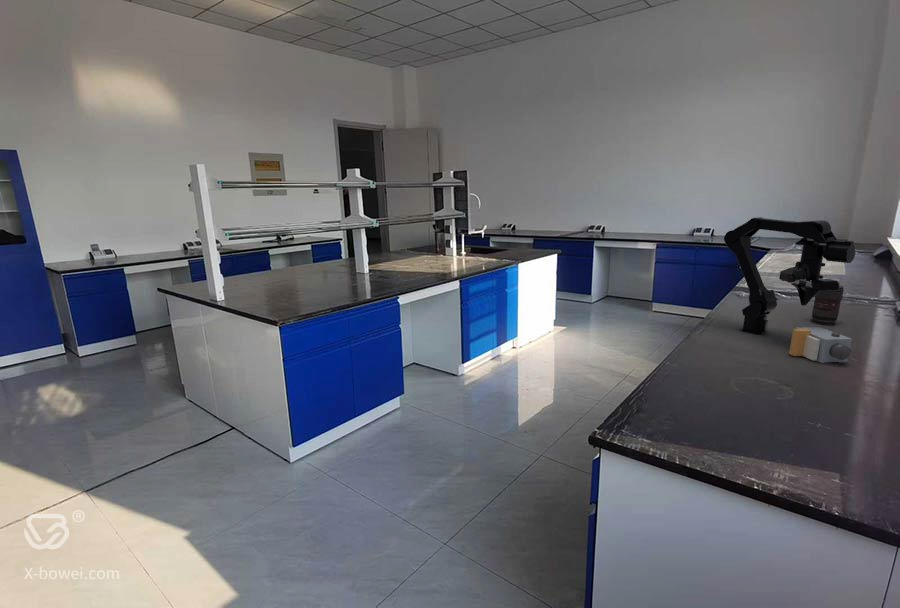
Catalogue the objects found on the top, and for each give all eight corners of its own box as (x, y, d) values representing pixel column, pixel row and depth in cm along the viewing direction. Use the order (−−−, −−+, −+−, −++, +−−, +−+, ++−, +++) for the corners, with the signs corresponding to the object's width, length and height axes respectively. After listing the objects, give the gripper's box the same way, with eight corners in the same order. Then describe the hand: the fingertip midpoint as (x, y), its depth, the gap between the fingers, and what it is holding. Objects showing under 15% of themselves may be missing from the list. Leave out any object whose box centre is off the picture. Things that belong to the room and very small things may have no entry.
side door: (789, 353, 144) (793, 329, 142) (801, 353, 144) (806, 328, 142) (803, 360, 139) (808, 335, 137) (816, 360, 139) (821, 334, 137)
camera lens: (841, 326, 172) (849, 287, 168) (817, 325, 173) (824, 287, 170) (829, 320, 179) (836, 283, 176) (806, 319, 181) (812, 282, 177)
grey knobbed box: (791, 349, 149) (795, 325, 147) (815, 348, 149) (820, 324, 147) (827, 365, 135) (832, 339, 133) (854, 365, 135) (859, 338, 133)
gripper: (767, 256, 158) (761, 299, 162) (809, 264, 140) (800, 313, 144) (799, 255, 158) (792, 298, 162) (845, 263, 140) (835, 312, 144)
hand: (803, 305), depth 153 cm, fingers closed
